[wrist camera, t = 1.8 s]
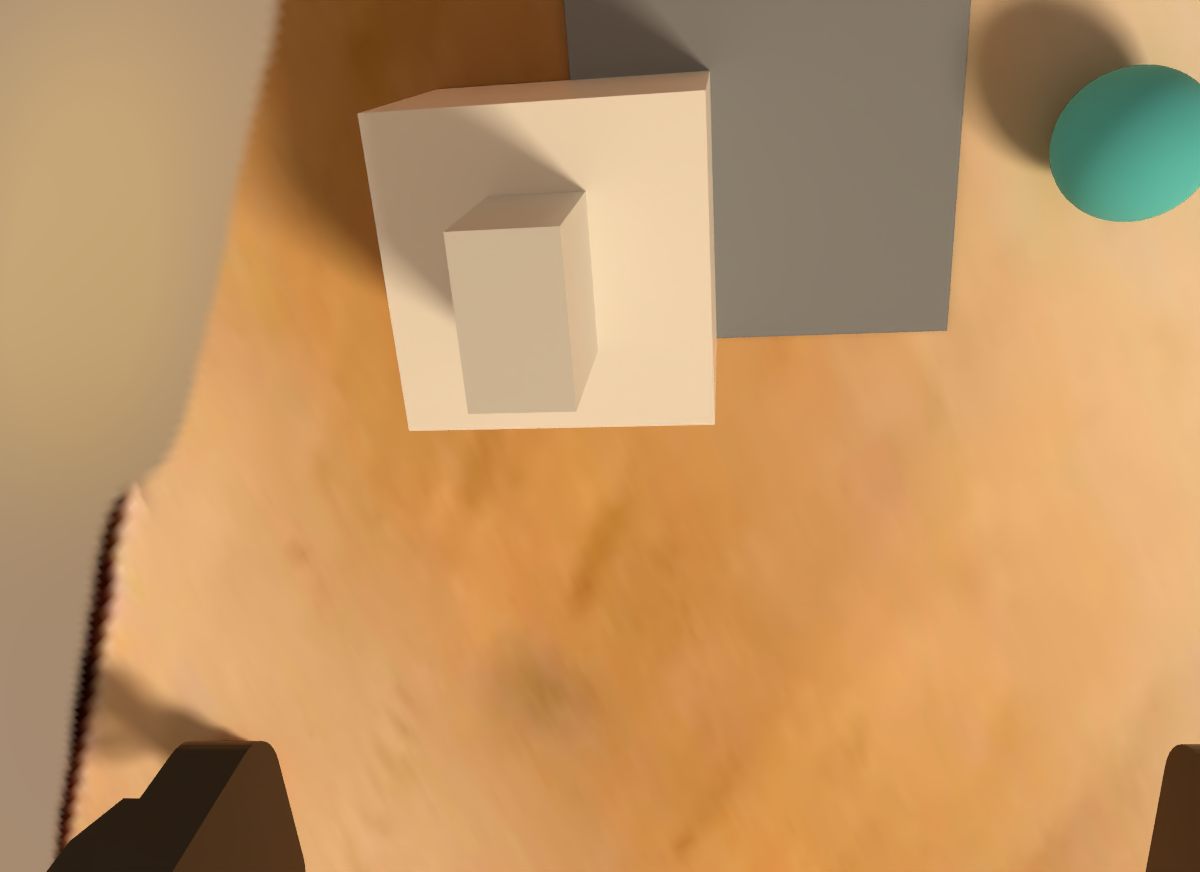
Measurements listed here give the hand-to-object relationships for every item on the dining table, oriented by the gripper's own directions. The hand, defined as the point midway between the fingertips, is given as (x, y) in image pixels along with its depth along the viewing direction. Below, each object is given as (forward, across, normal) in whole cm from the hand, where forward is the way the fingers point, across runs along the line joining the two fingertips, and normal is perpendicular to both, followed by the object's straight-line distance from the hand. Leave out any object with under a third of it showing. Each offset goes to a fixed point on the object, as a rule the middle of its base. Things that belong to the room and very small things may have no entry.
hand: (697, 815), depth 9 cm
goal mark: (+31, -2, -2) cm, 31 cm away
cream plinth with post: (+31, +4, 0) cm, 32 cm away
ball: (+28, -14, -2) cm, 32 cm away
